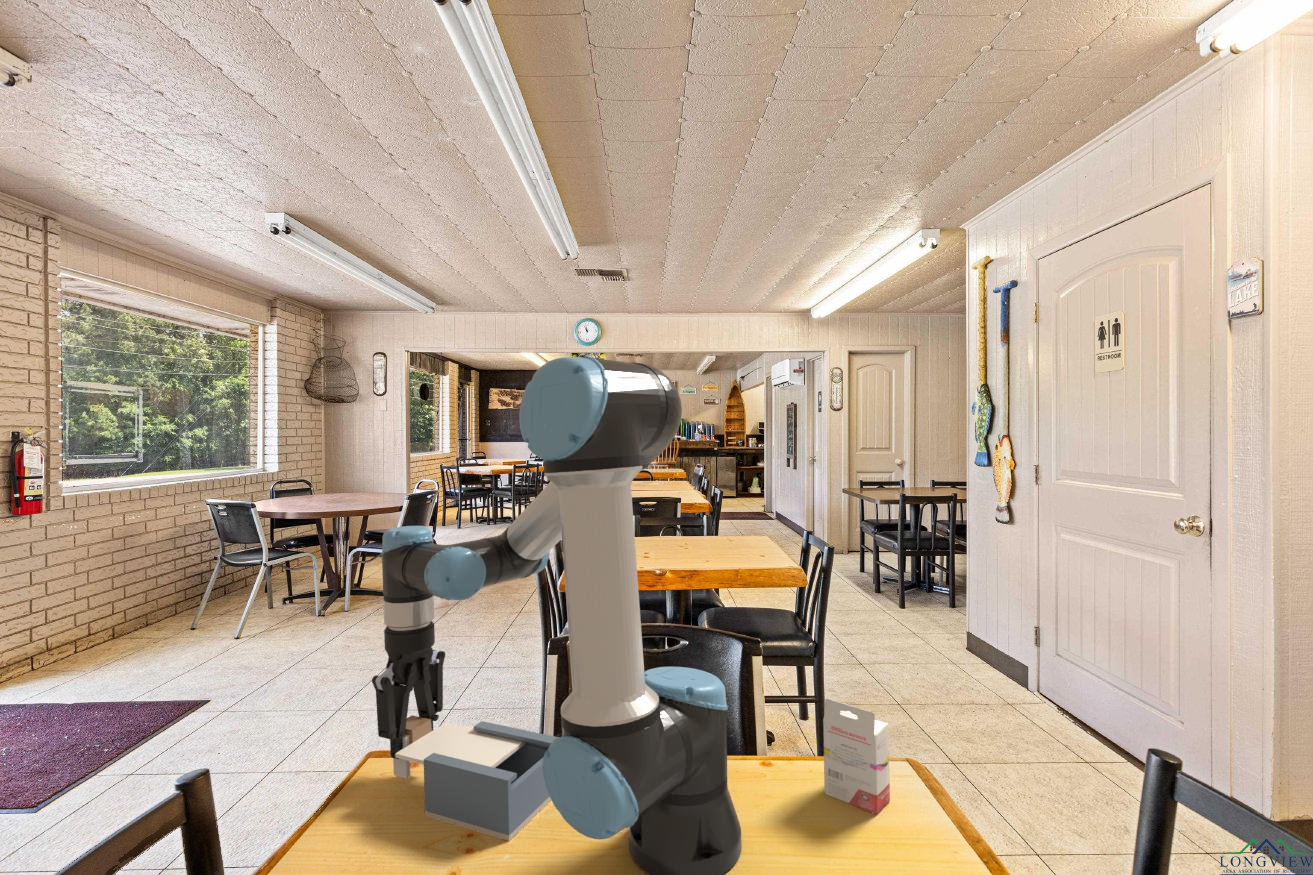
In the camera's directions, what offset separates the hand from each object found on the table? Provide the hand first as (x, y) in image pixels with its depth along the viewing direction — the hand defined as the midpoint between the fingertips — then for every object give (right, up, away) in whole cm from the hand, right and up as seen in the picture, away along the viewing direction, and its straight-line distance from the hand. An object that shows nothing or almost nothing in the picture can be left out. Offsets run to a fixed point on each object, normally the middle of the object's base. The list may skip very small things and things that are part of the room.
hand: (413, 767), depth 103 cm
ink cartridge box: (+69, -1, -6) cm, 70 cm away
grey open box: (+15, -2, -6) cm, 16 cm away
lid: (+7, +3, -3) cm, 9 cm away
